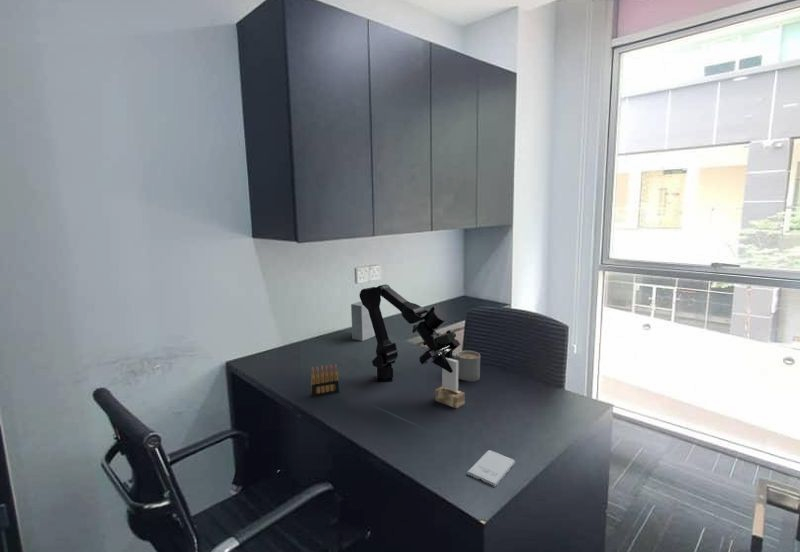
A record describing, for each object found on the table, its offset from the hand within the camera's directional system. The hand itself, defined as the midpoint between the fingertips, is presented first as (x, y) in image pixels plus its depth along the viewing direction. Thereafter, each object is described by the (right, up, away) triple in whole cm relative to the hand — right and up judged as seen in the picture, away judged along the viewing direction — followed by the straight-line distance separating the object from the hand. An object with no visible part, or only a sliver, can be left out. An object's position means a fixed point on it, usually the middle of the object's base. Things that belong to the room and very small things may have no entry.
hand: (453, 371), depth 146 cm
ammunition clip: (-48, -11, +11) cm, 51 cm away
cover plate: (-1, -7, +2) cm, 7 cm away
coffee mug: (+9, -8, +28) cm, 30 cm away
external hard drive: (+6, -19, -35) cm, 40 cm away
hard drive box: (-38, 0, +82) cm, 90 cm away
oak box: (-1, -12, +3) cm, 13 cm away
